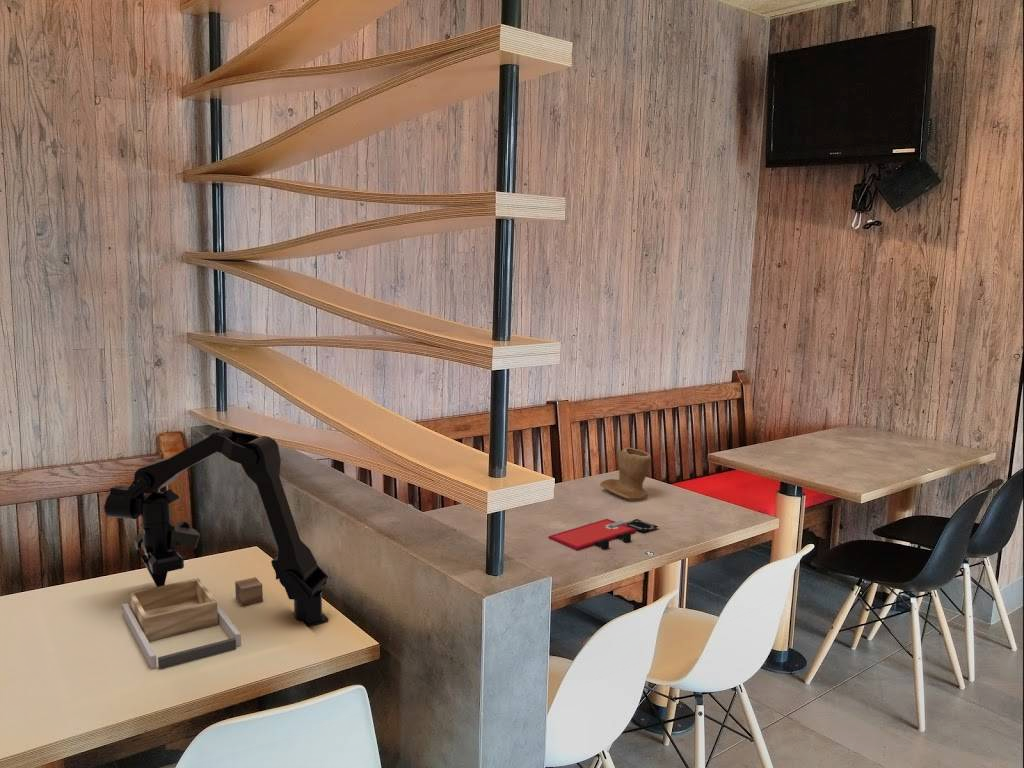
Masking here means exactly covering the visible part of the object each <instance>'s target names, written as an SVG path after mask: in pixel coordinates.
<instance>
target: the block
mask: <svg viewBox="0 0 1024 768" xmlns="http://www.w3.org/2000/svg"><path fill="white" fill-rule="evenodd" d="M234 587H235V589H234V590H235V600H236V601H237V602H238V604H240V606H241V607H245V606H250V605H254V604H259V603H263V601H264V598H263V595H264V594H263V584H262V582H261V581H260V580H259V579H258V578H257V576H256V577H249V578H246V579H241V580H236V581H234Z"/></svg>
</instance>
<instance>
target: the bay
mask: <svg viewBox="0 0 1024 768" xmlns="http://www.w3.org/2000/svg"><path fill="white" fill-rule="evenodd" d="M121 605H122V606H121V609H122V616H123V618H124V620H125V622H126V624H127V625H128V628H129V630H130V631H131V633H132V635H133V637H134V639H135V641H136V643H137V644H138V647H139V648H140V651H141V653H142V655H143V656H144V658H145V660H146V662H147V664H148V667H149V668H150V670H153V669H156V668H157V667H158V668H159V670H162V669H167V668H171V667H174V666H178V665H181V664H185V663H190V662H193V661H197V660H201V659H204V658H207V657H212V656H215V655H218V654H219V655H221V654H223V653H226V652H231V651H235V650H236V649H237V647H239V646H242V633H241V632H240V631H239V629H238V628H237V626H236V625H235V624H234V623H233V622H232V621H231V619H230V618H229V617H228V615H227V614H226V612H225V611H224V610H223V608H221V606H220V605H219V604H218V603H217V611H218V625H220V627H221V629H223V631H224V632H225V634H226V635H227V636H228V638H227V639H224V640H220V641H217V642H212V643H208V644H204V645H201V646H197V647H193V648H189V649H185V650H182V651H177V652H173V653H169V654H166V655H161V656H158V657H157V655H156V652H155V651H154V649H153V647H152V645H151V644H150V642H148V640H147V638H146V636H145V634H144V632H143V631H142V629H141V627H140V625H139V623H138V622H137V620H136V618H135V616H134V614H133V612H132V611H131V609H130V604H129V603H128V602H126V603H122V604H121ZM157 664H158V665H157Z"/></svg>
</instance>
